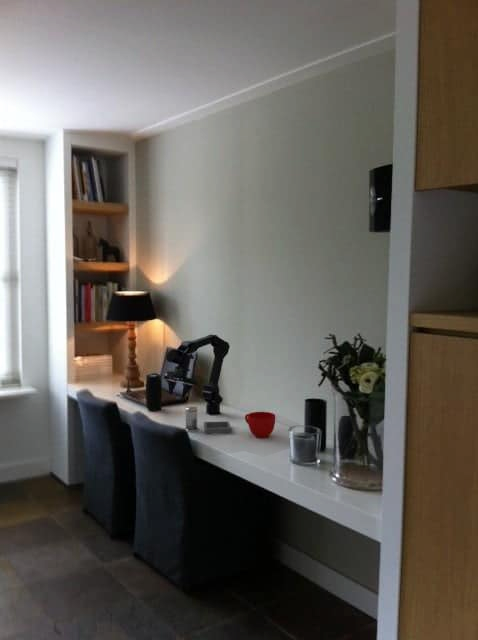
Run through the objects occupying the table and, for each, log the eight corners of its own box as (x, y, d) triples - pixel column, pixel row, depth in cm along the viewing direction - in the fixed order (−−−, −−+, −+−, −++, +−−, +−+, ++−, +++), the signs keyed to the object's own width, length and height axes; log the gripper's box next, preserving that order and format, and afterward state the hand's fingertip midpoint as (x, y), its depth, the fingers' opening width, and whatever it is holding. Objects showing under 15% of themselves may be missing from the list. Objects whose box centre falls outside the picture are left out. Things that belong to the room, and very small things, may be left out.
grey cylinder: (195, 427, 302) (194, 405, 301) (201, 430, 296) (201, 408, 295) (181, 429, 299) (181, 407, 298) (187, 432, 293) (187, 410, 292)
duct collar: (203, 426, 303) (203, 421, 303) (228, 426, 304) (228, 421, 304) (205, 434, 291) (205, 428, 290) (231, 433, 292) (231, 428, 292)
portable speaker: (144, 411, 334) (143, 375, 332) (148, 407, 343) (148, 372, 341) (159, 411, 333) (159, 376, 331) (163, 407, 342) (163, 373, 340)
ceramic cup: (255, 428, 300) (255, 408, 299) (281, 436, 288) (281, 415, 287) (236, 434, 291) (236, 413, 290) (262, 441, 279) (262, 420, 278)
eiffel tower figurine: (115, 396, 373) (114, 374, 372) (130, 394, 379) (130, 372, 378) (124, 400, 361) (124, 378, 360) (140, 398, 366) (140, 376, 365)
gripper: (159, 360, 311) (152, 391, 309) (184, 365, 299) (177, 396, 297) (175, 364, 319) (168, 394, 317) (200, 369, 307) (193, 400, 305)
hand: (176, 396), depth 309 cm, fingers open, 9 cm apart
